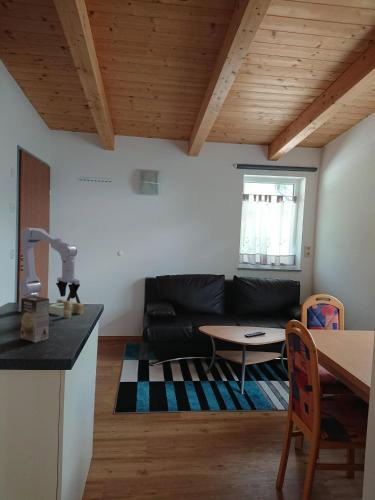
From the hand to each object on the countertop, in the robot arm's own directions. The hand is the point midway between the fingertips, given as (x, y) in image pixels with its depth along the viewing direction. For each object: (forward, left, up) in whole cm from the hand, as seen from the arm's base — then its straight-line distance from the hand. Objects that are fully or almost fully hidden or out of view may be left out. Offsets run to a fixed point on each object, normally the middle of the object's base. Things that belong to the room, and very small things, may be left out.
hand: (67, 297), depth 158 cm
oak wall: (-10, +9, -10) cm, 17 cm away
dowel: (0, 0, -10) cm, 10 cm away
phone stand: (-19, +18, -10) cm, 28 cm away
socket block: (-10, +4, -10) cm, 15 cm away
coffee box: (+17, -28, -10) cm, 34 cm away
